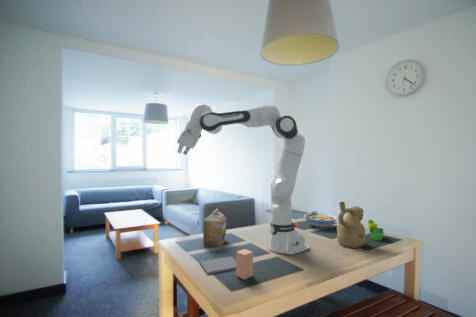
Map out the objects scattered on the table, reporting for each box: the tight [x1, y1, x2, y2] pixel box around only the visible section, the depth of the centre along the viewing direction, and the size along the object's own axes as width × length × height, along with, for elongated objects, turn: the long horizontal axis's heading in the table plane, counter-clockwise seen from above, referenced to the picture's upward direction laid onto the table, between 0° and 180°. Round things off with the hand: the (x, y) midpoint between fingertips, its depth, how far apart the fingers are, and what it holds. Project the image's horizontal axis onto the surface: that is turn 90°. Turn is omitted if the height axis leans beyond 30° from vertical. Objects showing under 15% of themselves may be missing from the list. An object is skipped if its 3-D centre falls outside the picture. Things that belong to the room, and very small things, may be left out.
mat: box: [199, 255, 236, 276], centre depth 114 cm, size 16×12×1 cm
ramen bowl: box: [303, 210, 338, 229], centre depth 180 cm, size 25×23×8 cm
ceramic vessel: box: [336, 201, 367, 249], centre depth 143 cm, size 17×20×25 cm
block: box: [235, 248, 254, 281], centre depth 104 cm, size 5×5×10 cm
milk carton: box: [202, 208, 227, 247], centre depth 145 cm, size 11×11×19 cm
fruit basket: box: [366, 219, 385, 242], centre depth 154 cm, size 11×9×11 cm
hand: (181, 153), depth 138 cm, fingers open, 8 cm apart
